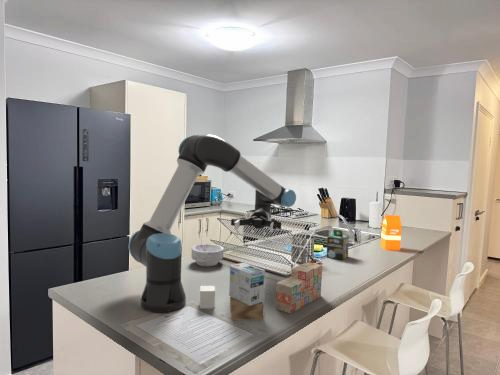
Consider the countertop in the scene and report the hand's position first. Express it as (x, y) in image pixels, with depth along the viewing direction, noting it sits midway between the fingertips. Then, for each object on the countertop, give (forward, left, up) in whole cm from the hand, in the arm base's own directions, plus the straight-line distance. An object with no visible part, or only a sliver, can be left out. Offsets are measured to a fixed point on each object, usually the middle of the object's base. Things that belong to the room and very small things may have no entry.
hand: (253, 227), depth 135 cm
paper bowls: (-25, +32, -25) cm, 48 cm away
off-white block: (-13, -15, -25) cm, 32 cm away
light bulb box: (+1, -18, -21) cm, 28 cm away
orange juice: (+73, +88, -25) cm, 117 cm away
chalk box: (+39, +60, -25) cm, 75 cm away
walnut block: (+1, -19, -26) cm, 32 cm away
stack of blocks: (+18, -6, -26) cm, 32 cm away
